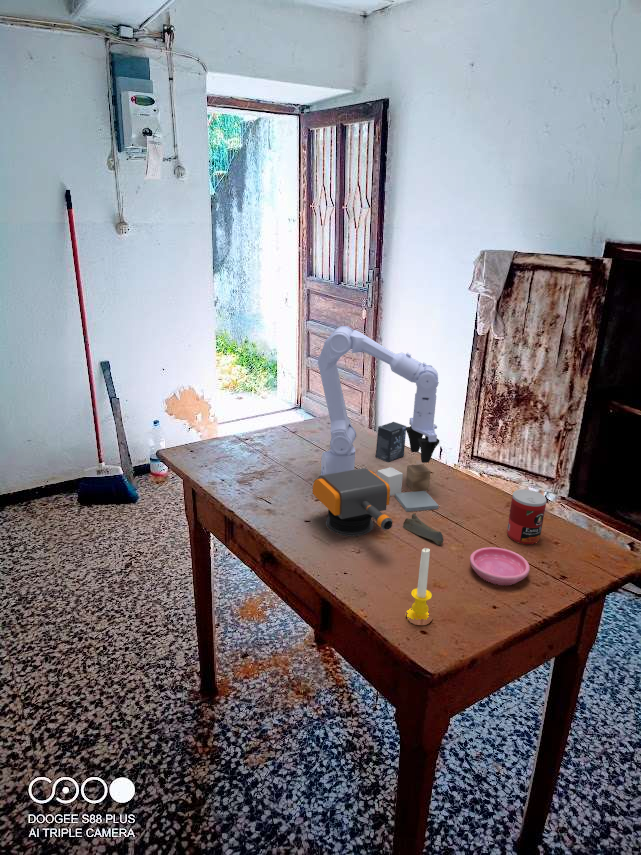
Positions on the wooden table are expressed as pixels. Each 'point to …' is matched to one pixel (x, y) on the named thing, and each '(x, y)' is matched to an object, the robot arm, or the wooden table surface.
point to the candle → (421, 590)
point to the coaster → (416, 501)
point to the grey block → (391, 479)
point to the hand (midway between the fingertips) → (419, 456)
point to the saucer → (499, 565)
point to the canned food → (526, 516)
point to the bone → (422, 529)
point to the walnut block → (418, 477)
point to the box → (390, 441)
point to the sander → (353, 501)
